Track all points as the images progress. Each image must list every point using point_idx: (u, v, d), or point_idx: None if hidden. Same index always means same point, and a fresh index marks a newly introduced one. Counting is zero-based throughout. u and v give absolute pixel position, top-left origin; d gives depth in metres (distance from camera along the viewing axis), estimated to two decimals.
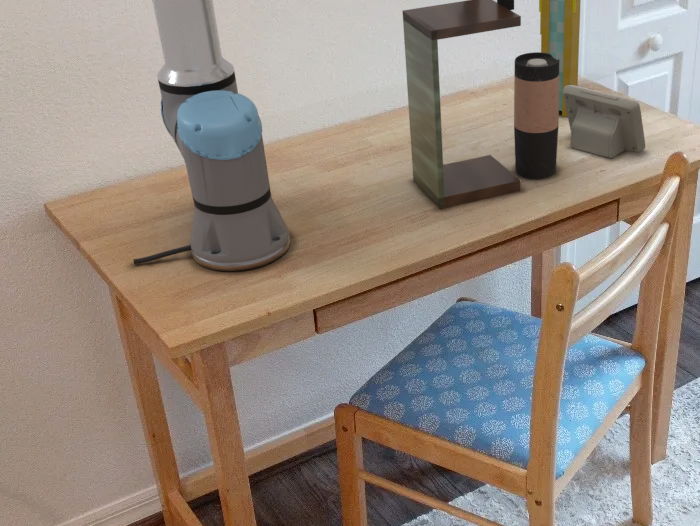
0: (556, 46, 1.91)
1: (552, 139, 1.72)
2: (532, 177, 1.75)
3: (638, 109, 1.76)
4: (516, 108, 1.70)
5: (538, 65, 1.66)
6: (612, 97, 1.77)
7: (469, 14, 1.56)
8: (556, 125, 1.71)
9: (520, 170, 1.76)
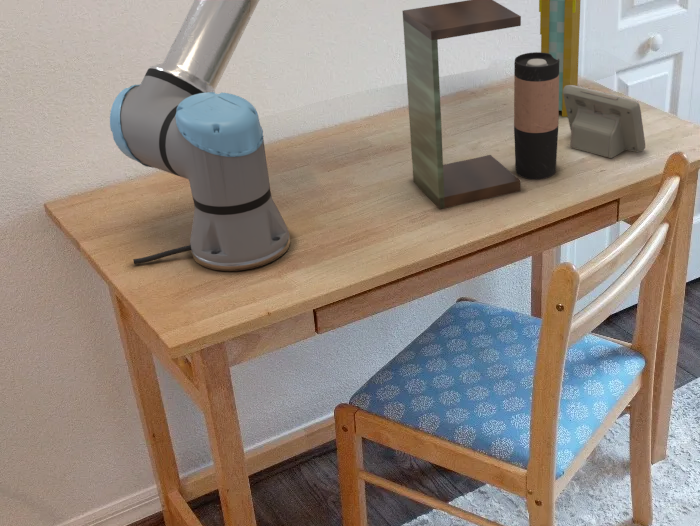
0: (556, 46, 1.91)
1: (552, 139, 1.72)
2: (532, 177, 1.75)
3: (638, 109, 1.76)
4: (516, 108, 1.70)
5: (538, 65, 1.66)
6: (612, 97, 1.77)
7: (469, 14, 1.56)
8: (556, 125, 1.71)
9: (520, 170, 1.76)
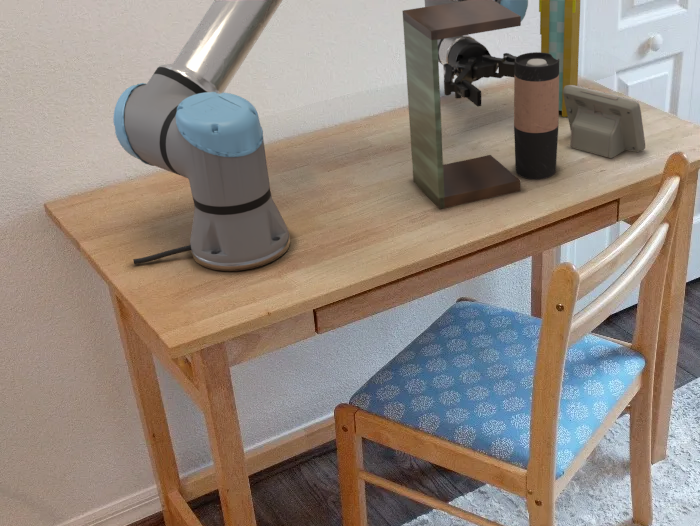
0: (556, 46, 1.91)
1: (552, 139, 1.72)
2: (532, 177, 1.75)
3: (638, 109, 1.76)
4: (516, 108, 1.70)
5: (538, 65, 1.66)
6: (612, 97, 1.77)
7: (469, 14, 1.56)
8: (556, 125, 1.71)
9: (520, 170, 1.76)
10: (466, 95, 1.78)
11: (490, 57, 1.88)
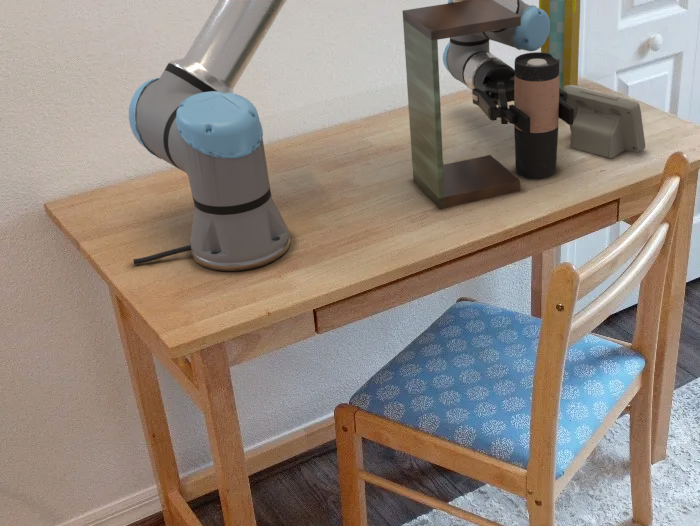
0: (556, 46, 1.91)
1: (552, 139, 1.72)
2: (532, 177, 1.75)
3: (638, 109, 1.76)
4: None
5: (538, 65, 1.66)
6: (612, 97, 1.77)
7: (469, 14, 1.56)
8: (556, 125, 1.71)
9: (520, 170, 1.76)
10: (513, 121, 1.69)
11: None
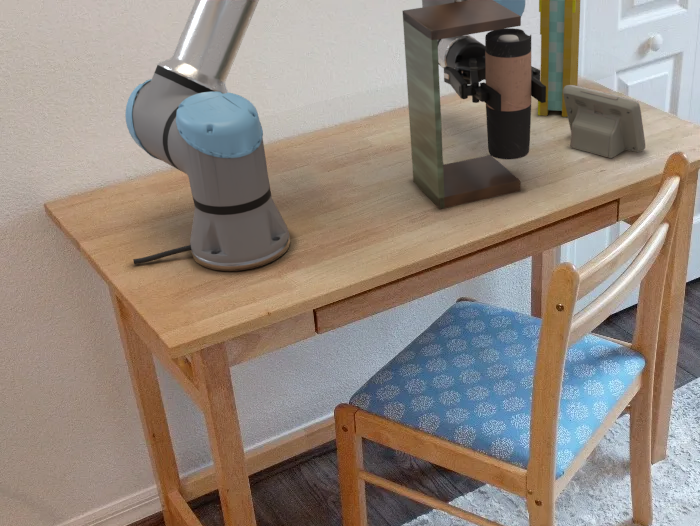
0: (556, 46, 1.91)
1: (525, 118, 1.68)
2: (504, 157, 1.71)
3: (638, 109, 1.76)
4: None
5: (509, 41, 1.61)
6: (612, 97, 1.77)
7: (469, 14, 1.56)
8: (529, 103, 1.67)
9: (492, 150, 1.71)
10: (484, 99, 1.65)
11: None
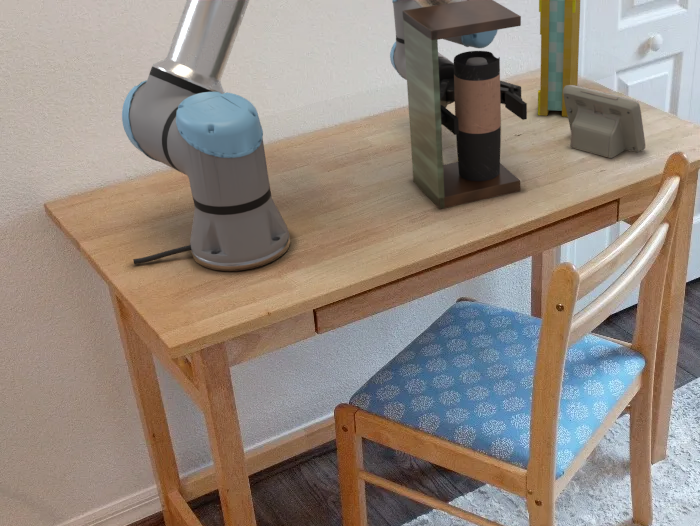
0: (556, 46, 1.91)
1: (494, 140, 1.67)
2: (475, 179, 1.71)
3: (638, 109, 1.76)
4: (456, 108, 1.65)
5: (477, 64, 1.61)
6: (612, 97, 1.77)
7: (469, 14, 1.56)
8: (498, 125, 1.67)
9: (462, 172, 1.71)
10: (442, 122, 1.65)
11: None
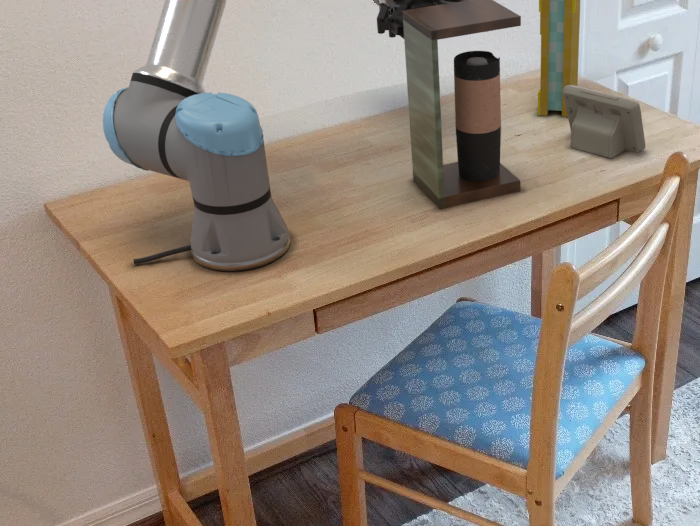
0: (556, 46, 1.91)
1: (494, 140, 1.67)
2: (475, 179, 1.71)
3: (638, 109, 1.76)
4: (456, 108, 1.65)
5: (477, 64, 1.61)
6: (612, 97, 1.77)
7: (469, 14, 1.56)
8: (498, 125, 1.67)
9: (462, 172, 1.71)
10: (399, 32, 1.69)
11: None
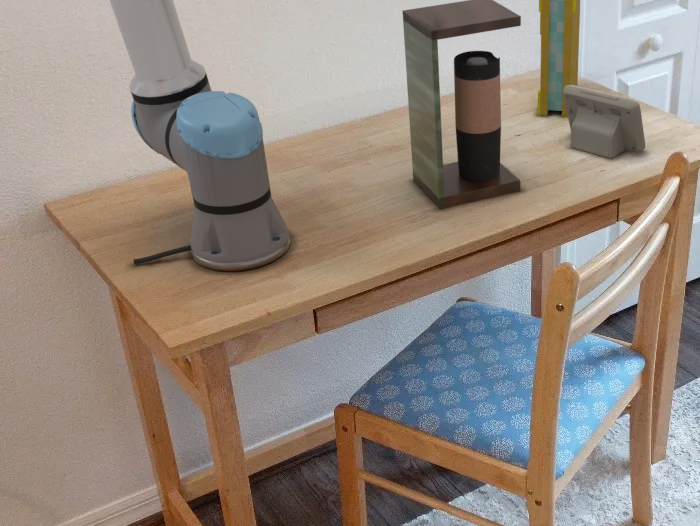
0: (556, 46, 1.91)
1: (494, 140, 1.67)
2: (475, 179, 1.71)
3: (638, 109, 1.76)
4: (456, 108, 1.65)
5: (477, 64, 1.61)
6: (612, 97, 1.77)
7: (469, 14, 1.56)
8: (498, 125, 1.67)
9: (462, 172, 1.71)
10: None
11: None
